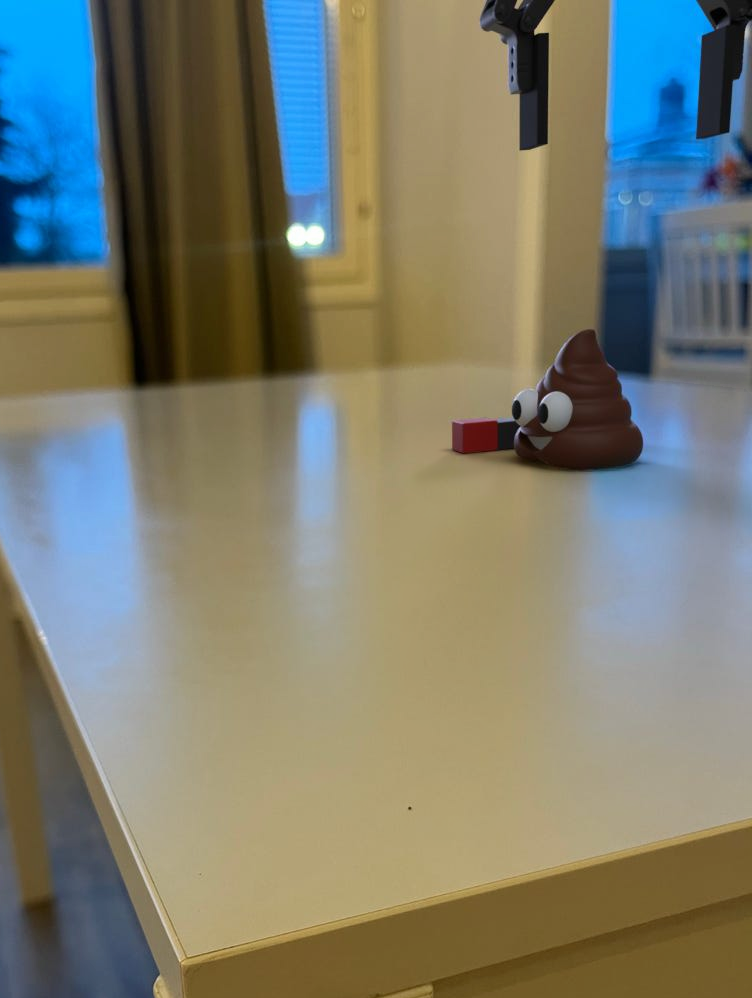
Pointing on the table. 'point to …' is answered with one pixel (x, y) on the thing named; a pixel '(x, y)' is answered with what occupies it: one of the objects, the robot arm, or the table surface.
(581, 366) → the poop emoji
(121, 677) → the table surface
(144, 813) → the table surface
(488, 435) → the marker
